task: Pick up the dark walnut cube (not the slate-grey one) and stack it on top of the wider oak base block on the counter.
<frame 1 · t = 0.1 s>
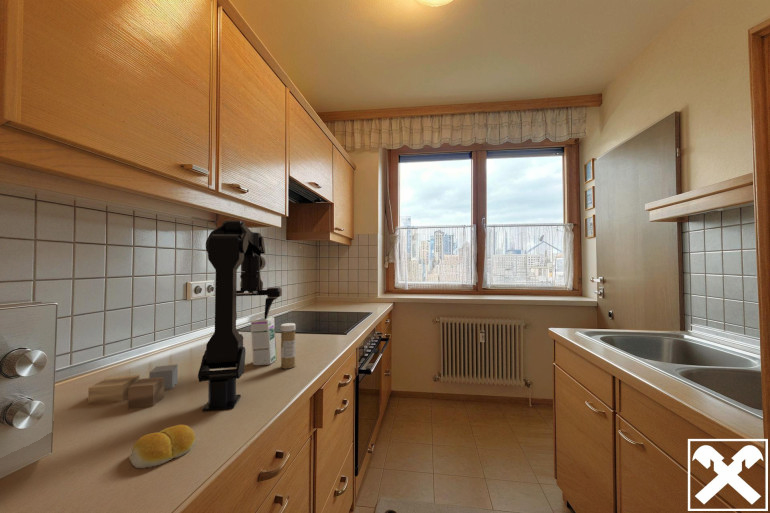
hand: (250, 319, 99), 15 cm above the worktop, tool pointing down, fingers open, 9 cm apart
slate-grey cube: (163, 387, 82), on the worktop
oak base block: (115, 397, 77), on the worktop
sprinkles bottle: (288, 367, 97), on the worktop
syrup box: (265, 363, 101), on the worktop, touching gripper
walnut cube: (146, 403, 73), on the worktop
bread roll: (163, 455, 53), on the worktop
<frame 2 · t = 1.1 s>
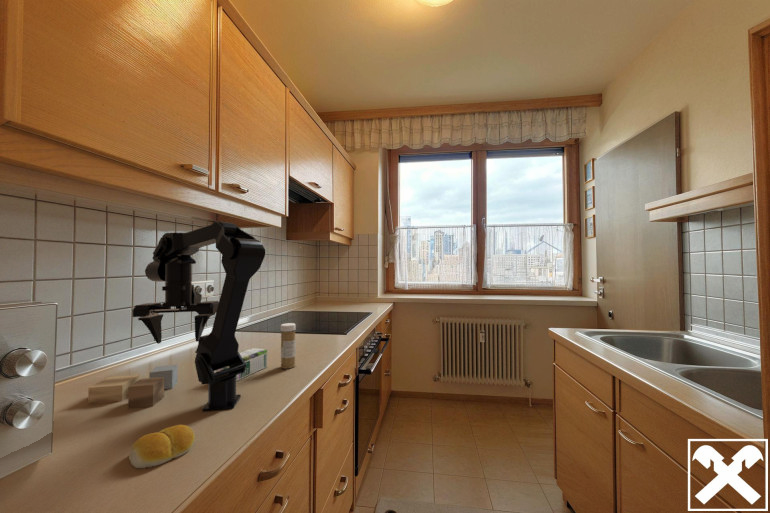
hand: (178, 342, 79), 13 cm above the worktop, tool pointing down, fingers open, 9 cm apart
syrup box: (260, 357, 98), point 3 cm above the worktop
everything else where it was.
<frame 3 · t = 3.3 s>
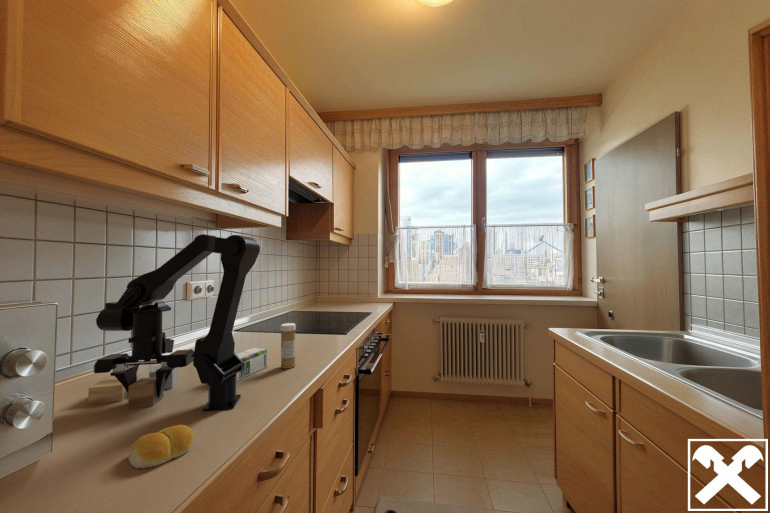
hand: (147, 397, 73), 1 cm above the worktop, tool pointing down, fingers closed on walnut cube, 5 cm apart
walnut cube: (147, 402, 73), on the worktop, touching gripper
everything else where it was.
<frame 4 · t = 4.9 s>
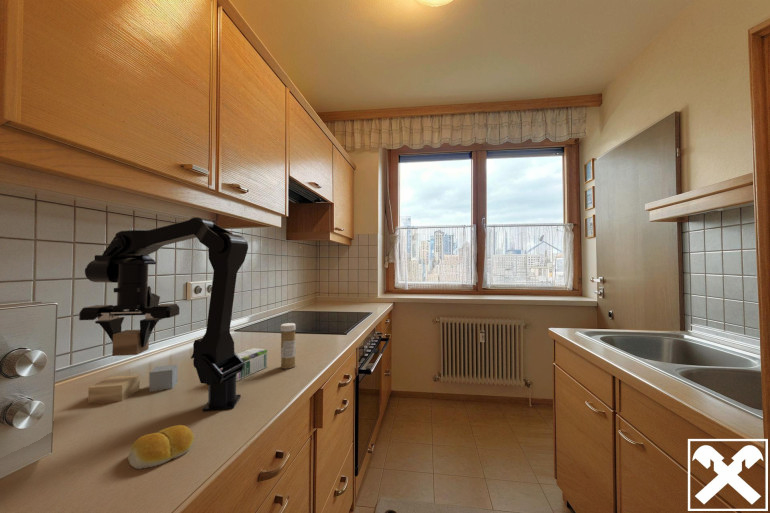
hand: (131, 347, 75), 13 cm above the worktop, tool pointing down, fingers closed on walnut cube, 5 cm apart
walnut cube: (131, 352, 75), point 11 cm above the worktop, touching gripper
everything else where it was.
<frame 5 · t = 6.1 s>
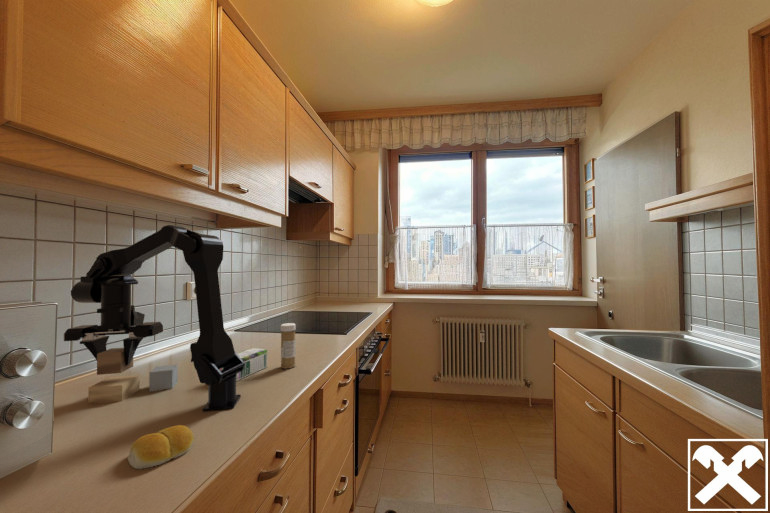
hand: (115, 365, 77), 8 cm above the worktop, tool pointing down, fingers closed on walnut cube, 5 cm apart
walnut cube: (115, 370, 77), point 6 cm above the worktop, touching gripper
everything else where it was.
when the fingers open (6 cm above the worktop, at t = 6.7 s): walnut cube drops 1 cm, point 4 cm above the worktop.
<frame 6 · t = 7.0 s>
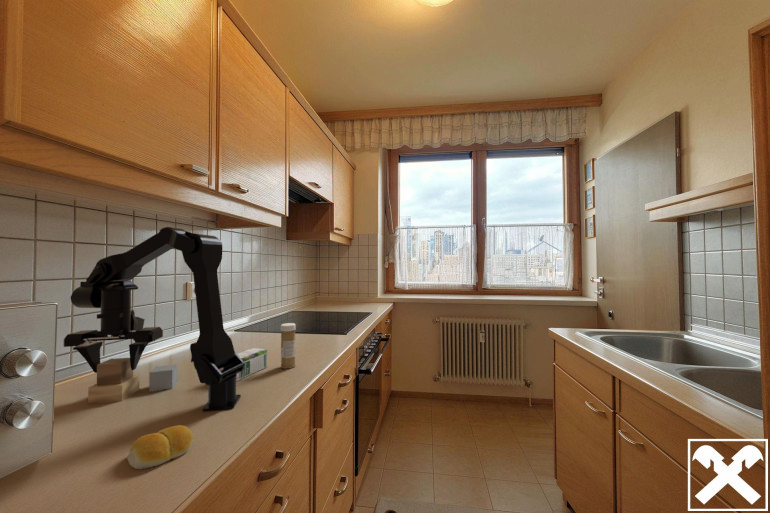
hand: (115, 370, 77), 6 cm above the worktop, tool pointing down, fingers open, 8 cm apart
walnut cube: (115, 381, 77), point 4 cm above the worktop
everything else where it was.
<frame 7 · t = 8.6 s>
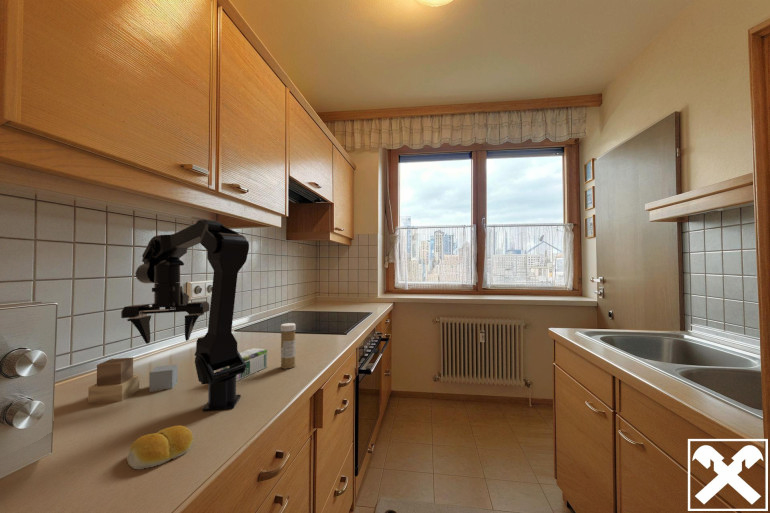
hand: (167, 341, 82), 12 cm above the worktop, tool pointing down, fingers open, 9 cm apart
oak base block: (115, 397, 77), on the worktop, touching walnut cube
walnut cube: (115, 381, 77), point 4 cm above the worktop, touching oak base block
everything else where it was.
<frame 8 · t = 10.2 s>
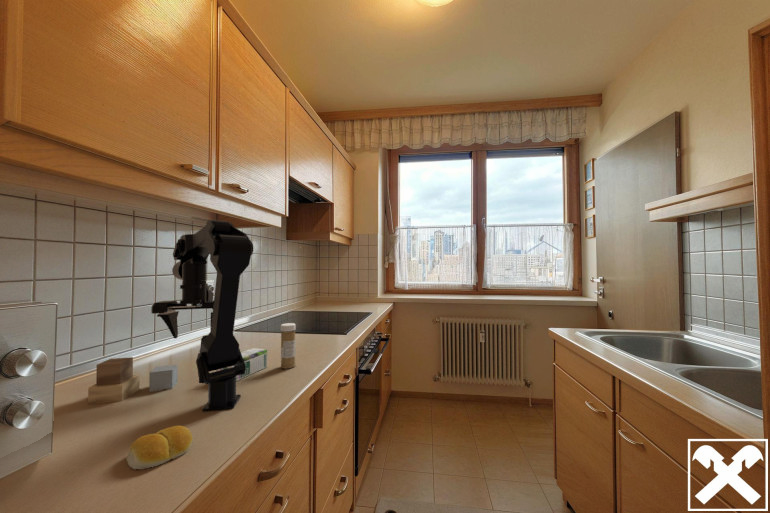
hand: (194, 337, 85), 13 cm above the worktop, tool pointing down, fingers open, 9 cm apart
oak base block: (115, 397, 77), on the worktop
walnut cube: (115, 381, 77), point 4 cm above the worktop
everything else where it was.
at the end: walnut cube 0.1 cm off-centre on the oak base block, point 4.0 cm above the oak base block's base; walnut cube touching oak base block; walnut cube tilted 0° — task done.
